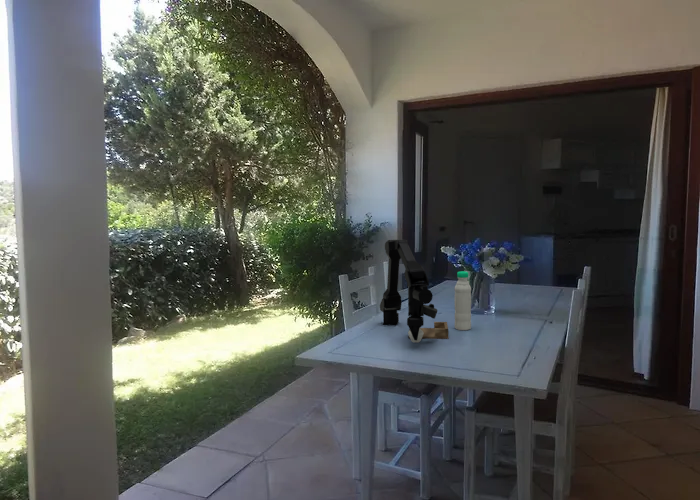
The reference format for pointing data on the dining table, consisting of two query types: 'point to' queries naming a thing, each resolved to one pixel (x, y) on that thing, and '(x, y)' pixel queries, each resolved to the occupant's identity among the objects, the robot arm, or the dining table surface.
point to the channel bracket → (436, 331)
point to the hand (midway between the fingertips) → (415, 337)
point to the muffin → (418, 336)
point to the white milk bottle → (462, 302)
